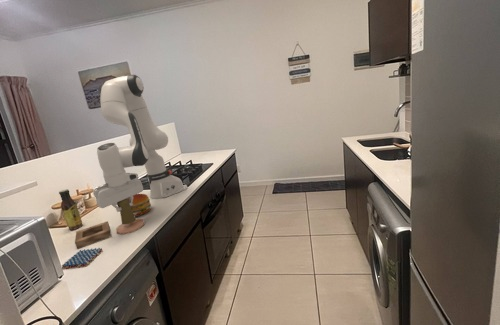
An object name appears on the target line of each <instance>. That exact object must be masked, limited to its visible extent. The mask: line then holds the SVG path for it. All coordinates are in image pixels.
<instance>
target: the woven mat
mask: <svg viewBox="0 0 500 325" xmlns="http://www.w3.org/2000/svg"><path fill="white" fill-rule="evenodd" d="M103 251H104V250H103V247H101V248H100V247H98V248H97V247H95V248H91V249H89V248H88V249H80V250H78V251H77V252H76V253H75V254H73V256H71V257H70V258H69V259H68V260H66V261H65V262H64V263H63V264H62V265H61V269H62V270H68V269H78V268H85V267H89V265H90V264H91V263H92V262H93V261H94V260H95V259H96V258H97V257H98V256H100V255H101V254H102V253H103Z"/></svg>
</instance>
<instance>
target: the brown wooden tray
mask: <svg viewBox="0 0 500 325" xmlns="http://www.w3.org/2000/svg"><path fill="white" fill-rule="evenodd" d="M110 227H111V226H110V224H109V221H104V222H101V223H97V224H95V225H92V226H89V227H86V228H82V229H80V230H77V231H75V239H74V244H75V247H76V249H77V250H78V249H81V248H84V247H86V246H87V247H88V246H89V245H93V244H95V243H97V242H100V241H103V240H106V239H109V238H111V237H112V234H111V228H110Z"/></svg>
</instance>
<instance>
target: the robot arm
mask: <svg viewBox="0 0 500 325" xmlns="http://www.w3.org/2000/svg"><path fill="white" fill-rule="evenodd" d="M144 89H145V88H144V83H143V81H142V79H141V78H140V77H139V76H138V75H136V74H127V75H122V76H118V77H115V78H112V79H109V80H104V81H103V82H102V81H101V82H100V84H99V86H98V93H99V95H100V111H101V115H102V117H103V118H104V119H105V120H106V121H107V122H109V123H112V124H113V125H117V126H122V127H123V126H124V127H126V128H127V129H128V131H129V134H130V138H129V146H122V147H118V146H117V144H116V143H115V142H107V143H104V144H101V145H99V146H98V147H97V149H96V155H97V159H98V163H99V166H100V168H101V170H102V175H103V176H102V177H103V179H104V182H105V183H104V184H102V185H99V186H96V187H95V188H94V189H93V195H94V196H93V197H95V201H96V205H97V207H98V208H99V209H100V208H101V209H105V208H107V207H109V206H110V207H111V206H112V207H113V208H114V209H115V210H116V212H117V213H119V212H120V211H122V209H121V207H118V205H117V202H119V201H122V200H124V199H126V198H129V201H130V204H129V205H130V207H131V206H133V203H132V201H133V195H136V194H141V193H143V191H144V186H143V183H142V181H141V179H140V178H139V174H138V173H135V172H134V173H133V172H126V168H133V167H143V166H144V168H145V170H146V179H147V180H148V184H149V188H150V189H149V190H150V198H152V199H158V198H159V199H160V198H167V197H170V196H173V195H175V194H177V193H181V192H183V191H186V190H187V189H188V185H187V184H185V185H183V184H184V183H183V181H182V180H181V178H179V177H177V176H175V175H173V171H172V170H170V169H167V168H166V164H165V160H164V158H163V157H162V155H160V154H159V153H157V151H158V150H162V149H165V148H166V147H167V146H168V144H169V136H168V135H167V133H166V132H165V131H163V130H161V129H160V128H159V127H158V126H157V125H156V124H155V122H154V121H153V119H152V117H151V115H150V111H149V109H148V107H147V104H146V101H145V99H144V96H143V95H142V94H143V93H144Z"/></svg>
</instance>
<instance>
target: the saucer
mask: <svg viewBox="0 0 500 325" xmlns="http://www.w3.org/2000/svg"><path fill="white" fill-rule="evenodd" d="M144 223H145V220H144V219H142V218H136V220H135V221H134V222H132V223H129V224H122V223H120V225H118V226H117V227H116V233H117V234H118V235H126V234H131V233H133V232H136V231H139V230H140V229H141V228H143V227H144V225H145V224H144Z"/></svg>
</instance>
